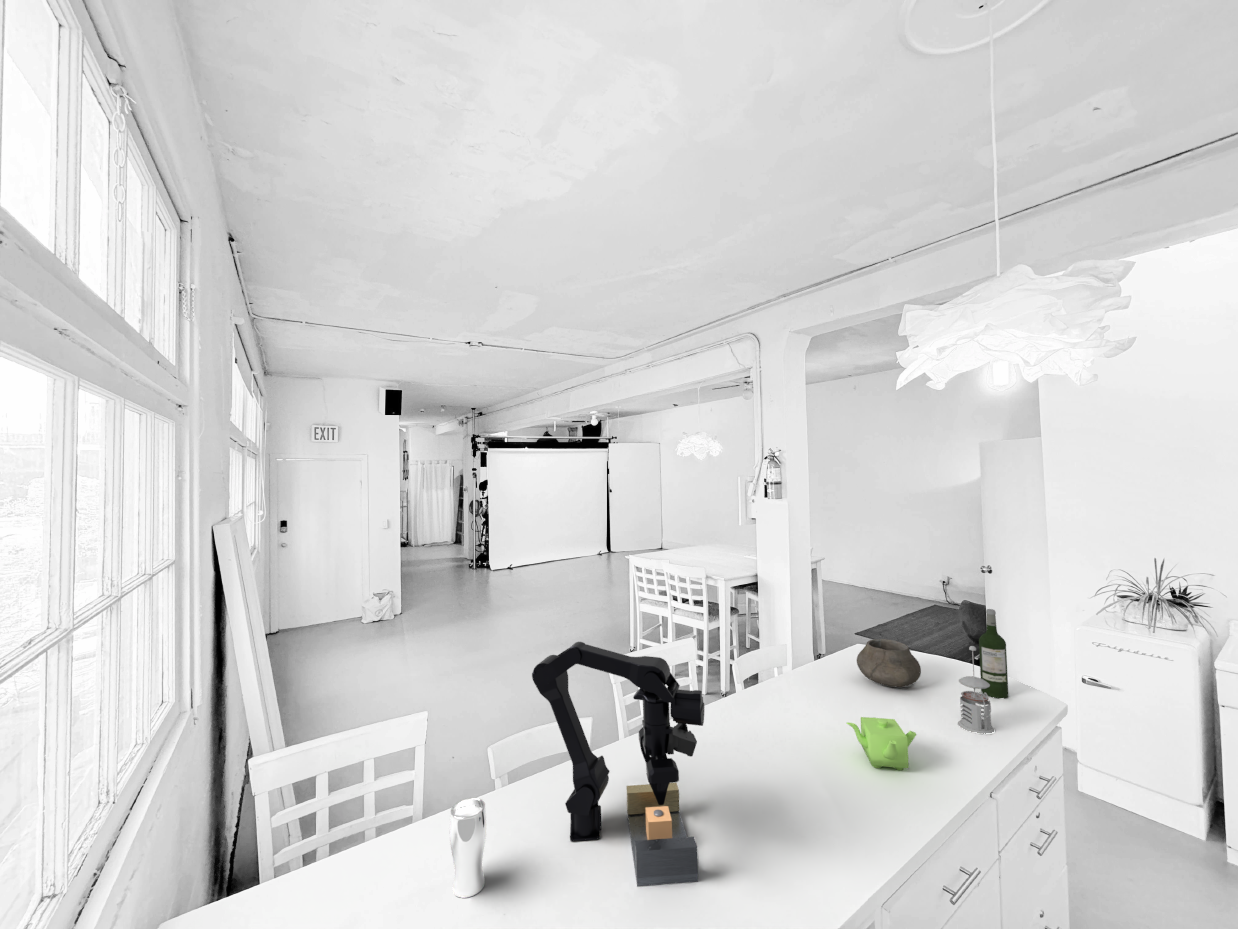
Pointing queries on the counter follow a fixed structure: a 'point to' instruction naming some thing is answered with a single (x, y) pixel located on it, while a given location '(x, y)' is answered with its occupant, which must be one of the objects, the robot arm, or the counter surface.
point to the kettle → (884, 742)
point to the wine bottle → (993, 659)
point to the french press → (969, 707)
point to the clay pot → (888, 663)
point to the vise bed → (642, 835)
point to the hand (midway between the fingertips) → (658, 793)
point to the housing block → (658, 823)
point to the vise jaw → (650, 798)
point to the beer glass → (468, 846)
